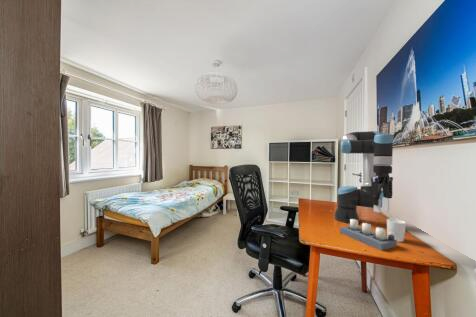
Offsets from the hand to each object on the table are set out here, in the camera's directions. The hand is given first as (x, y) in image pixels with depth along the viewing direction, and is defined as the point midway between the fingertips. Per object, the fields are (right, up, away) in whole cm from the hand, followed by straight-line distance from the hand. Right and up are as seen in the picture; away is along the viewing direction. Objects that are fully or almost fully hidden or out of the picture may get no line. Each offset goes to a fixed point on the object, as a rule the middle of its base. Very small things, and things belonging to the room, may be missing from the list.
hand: (381, 211), depth 95 cm
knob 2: (0, -14, 0) cm, 14 cm away
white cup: (+13, -17, +7) cm, 23 cm away
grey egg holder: (-3, -17, +7) cm, 18 cm away
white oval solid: (-3, -14, +7) cm, 16 cm away
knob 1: (-6, -14, +13) cm, 20 cm away
